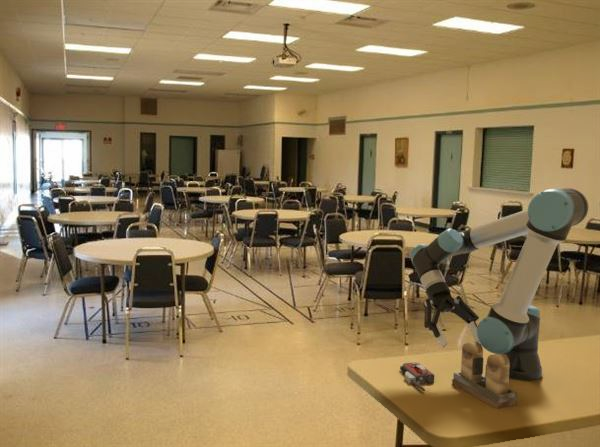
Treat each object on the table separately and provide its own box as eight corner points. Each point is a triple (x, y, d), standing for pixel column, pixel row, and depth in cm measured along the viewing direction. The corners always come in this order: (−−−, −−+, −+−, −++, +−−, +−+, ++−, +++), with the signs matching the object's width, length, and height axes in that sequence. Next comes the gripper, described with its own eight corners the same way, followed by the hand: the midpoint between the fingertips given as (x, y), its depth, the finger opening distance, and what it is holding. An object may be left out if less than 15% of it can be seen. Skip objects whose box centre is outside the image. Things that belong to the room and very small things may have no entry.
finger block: (470, 378, 192) (472, 339, 191) (483, 384, 187) (485, 345, 186) (460, 379, 191) (462, 341, 189) (472, 386, 185) (474, 346, 184)
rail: (472, 380, 195) (474, 337, 193) (517, 404, 176) (520, 357, 175) (452, 383, 191) (454, 340, 190) (495, 408, 173) (498, 360, 172)
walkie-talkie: (393, 371, 202) (420, 394, 183) (394, 358, 202) (421, 380, 183) (418, 369, 205) (446, 392, 185) (418, 357, 204) (447, 378, 185)
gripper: (460, 290, 211) (487, 344, 200) (399, 295, 201) (424, 353, 190) (470, 278, 206) (499, 333, 194) (409, 283, 196) (435, 341, 184)
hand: (462, 343), depth 192 cm, fingers open, 13 cm apart
